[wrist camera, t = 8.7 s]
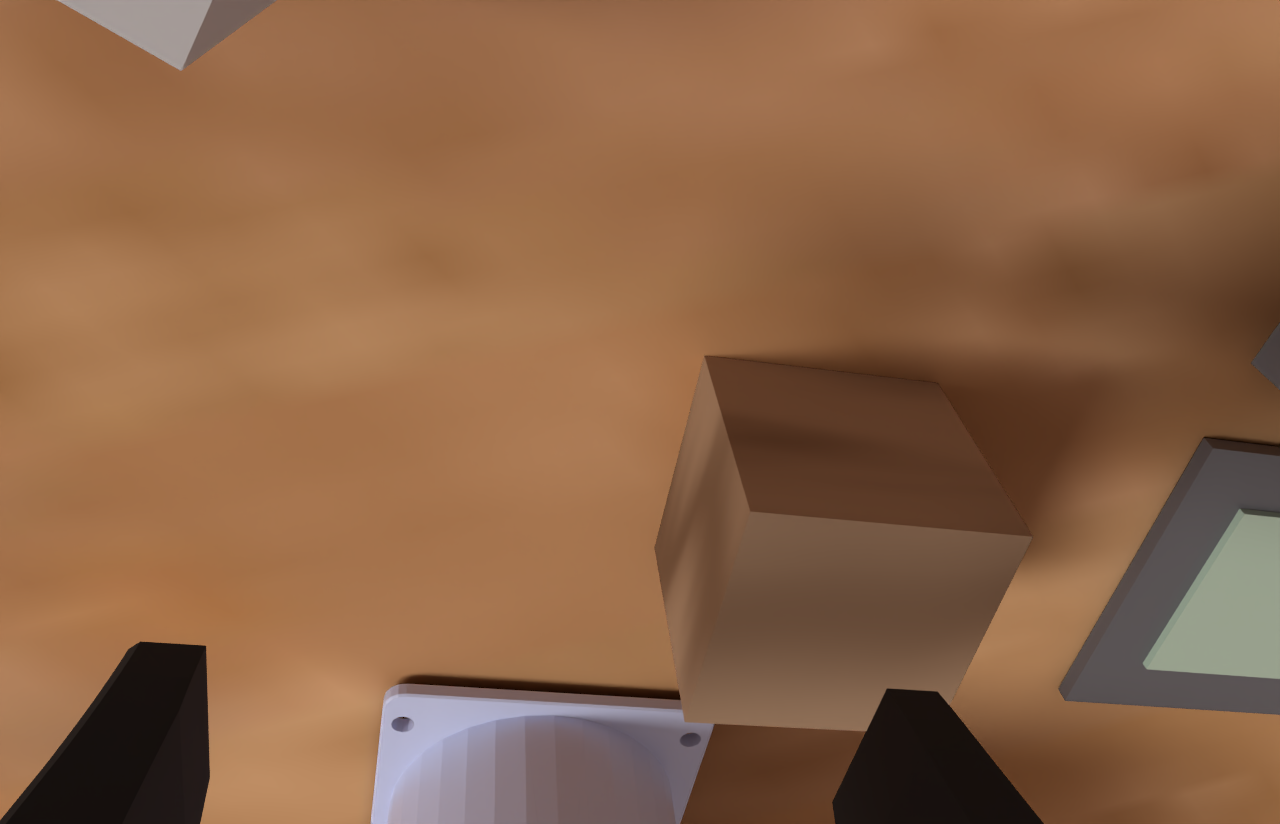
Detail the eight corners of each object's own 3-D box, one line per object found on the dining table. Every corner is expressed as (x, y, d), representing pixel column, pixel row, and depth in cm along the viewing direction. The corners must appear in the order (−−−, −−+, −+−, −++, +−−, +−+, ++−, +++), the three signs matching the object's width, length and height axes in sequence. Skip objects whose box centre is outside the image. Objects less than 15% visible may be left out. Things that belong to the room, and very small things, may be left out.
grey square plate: (1322, 706, 30) (1336, 723, 29) (1058, 688, 28) (1068, 706, 28) (1502, 473, 25) (1522, 489, 25) (1203, 437, 24) (1217, 454, 23)
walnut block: (864, 562, 25) (934, 734, 21) (654, 545, 24) (684, 721, 20) (936, 380, 23) (1033, 536, 18) (703, 353, 22) (750, 511, 17)
